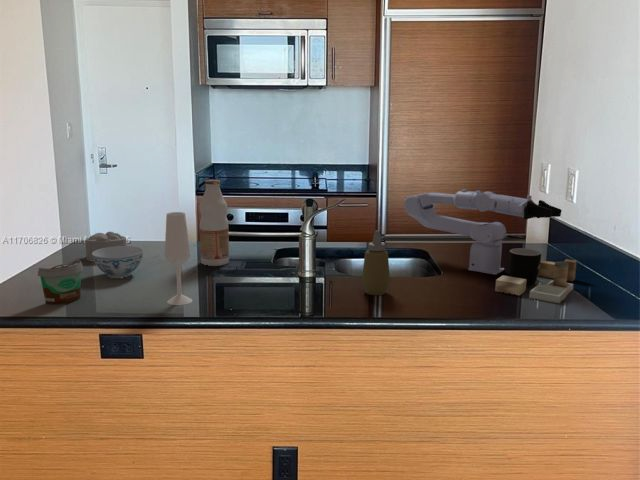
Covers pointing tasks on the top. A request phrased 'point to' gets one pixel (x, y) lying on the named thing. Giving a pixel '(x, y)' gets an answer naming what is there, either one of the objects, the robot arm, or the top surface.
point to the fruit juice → (213, 226)
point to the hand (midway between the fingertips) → (556, 213)
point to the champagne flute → (177, 250)
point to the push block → (510, 285)
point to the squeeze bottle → (376, 268)
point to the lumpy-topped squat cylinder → (103, 242)
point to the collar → (568, 286)
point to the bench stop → (549, 267)
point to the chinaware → (118, 260)
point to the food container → (62, 283)
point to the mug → (524, 264)
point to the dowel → (560, 274)
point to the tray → (548, 293)
